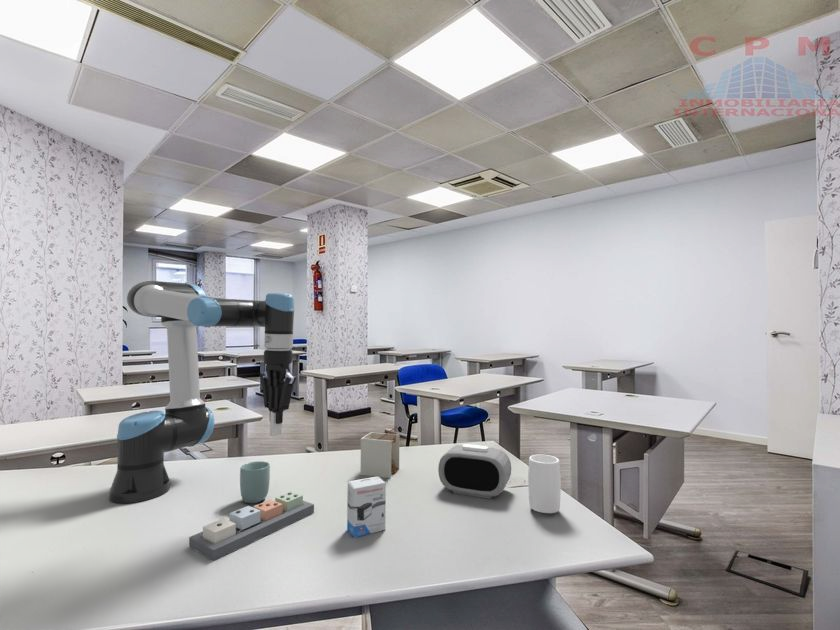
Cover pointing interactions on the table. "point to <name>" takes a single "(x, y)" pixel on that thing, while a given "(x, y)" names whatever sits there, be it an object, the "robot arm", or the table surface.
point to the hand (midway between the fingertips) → (275, 434)
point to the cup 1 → (254, 481)
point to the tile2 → (245, 517)
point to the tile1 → (219, 531)
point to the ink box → (366, 506)
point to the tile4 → (290, 500)
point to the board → (248, 533)
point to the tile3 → (269, 509)
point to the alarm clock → (475, 470)
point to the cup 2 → (544, 483)
